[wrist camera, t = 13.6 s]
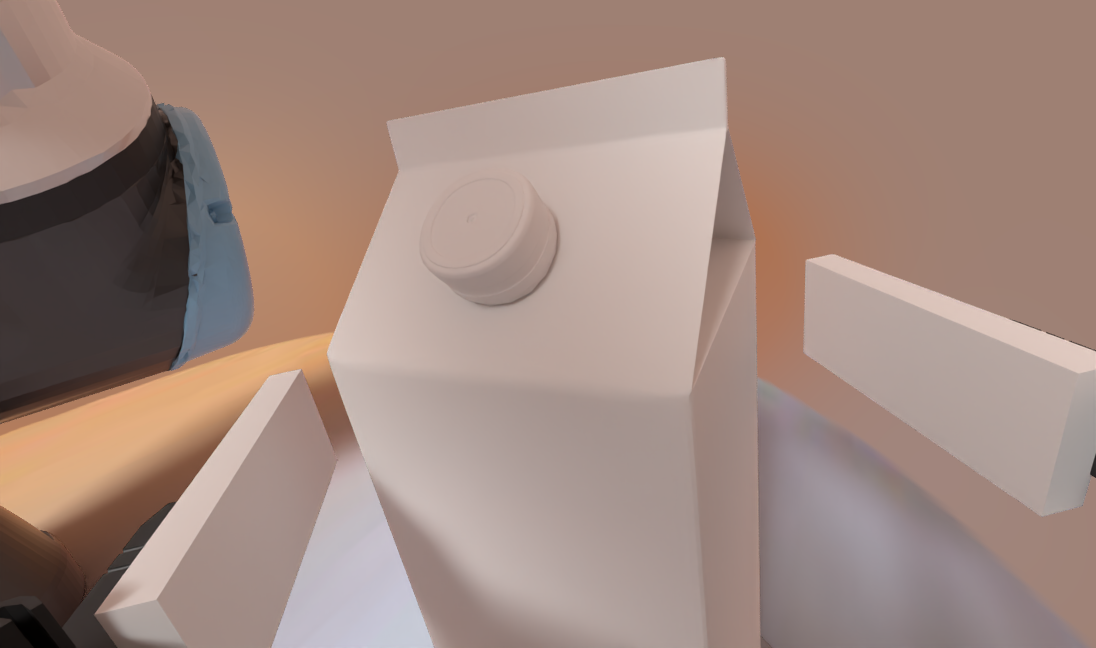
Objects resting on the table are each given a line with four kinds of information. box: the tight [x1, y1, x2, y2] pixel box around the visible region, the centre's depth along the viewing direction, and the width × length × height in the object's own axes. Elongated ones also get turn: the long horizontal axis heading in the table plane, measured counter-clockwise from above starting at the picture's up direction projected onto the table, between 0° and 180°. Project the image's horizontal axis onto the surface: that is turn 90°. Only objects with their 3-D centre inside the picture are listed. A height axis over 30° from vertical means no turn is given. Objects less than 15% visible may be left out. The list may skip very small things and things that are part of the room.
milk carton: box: [327, 57, 761, 648], centre depth 14 cm, size 7×7×19 cm
